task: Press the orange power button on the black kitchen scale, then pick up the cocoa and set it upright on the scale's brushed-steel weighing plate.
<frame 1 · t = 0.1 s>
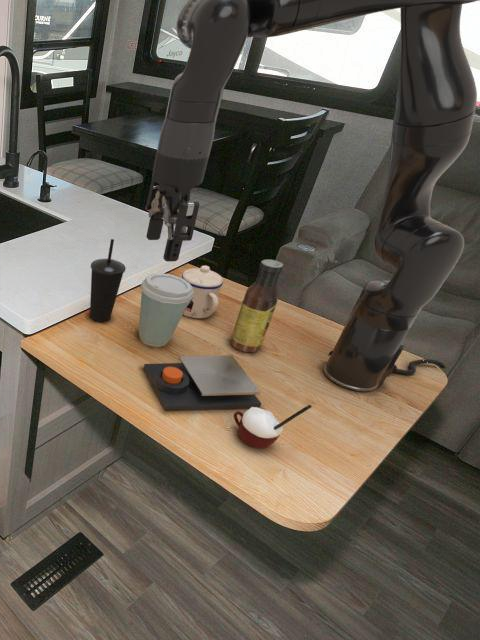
hand: (161, 249, 87), 29 cm above the table, tool pointing down, fingers open, 8 cm apart
drinking cup: (99, 318, 125), on the table
disposable coffee cup: (154, 340, 117), on the table
weighing plate: (217, 375, 101), resting on scale
scale: (198, 388, 103), on the table
cocoa: (255, 443, 91), on the table
sauce bottle: (243, 346, 115), on the table
teacup with lid: (196, 313, 126), on the table
power button: (172, 375, 101), point 3 cm above the table, slide at 0.1 cm
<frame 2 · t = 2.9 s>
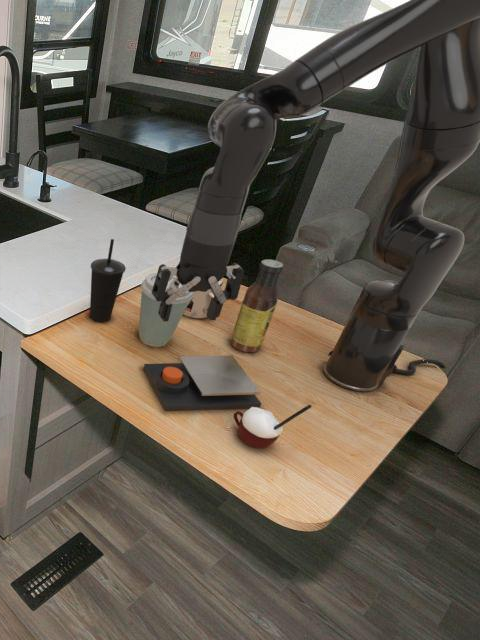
hand: (187, 318, 93), 16 cm above the table, tool pointing down, fingers open, 8 cm apart
nothing on the table moved.
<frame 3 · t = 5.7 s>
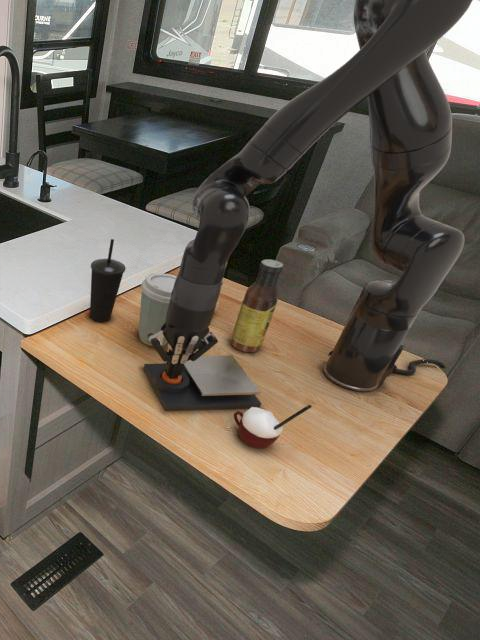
hand: (171, 375, 101), 3 cm above the table, tool pointing down, fingers closed
power button: (171, 378, 101), point 3 cm above the table, slide at -0.7 cm, touching gripper
everything else where it was.
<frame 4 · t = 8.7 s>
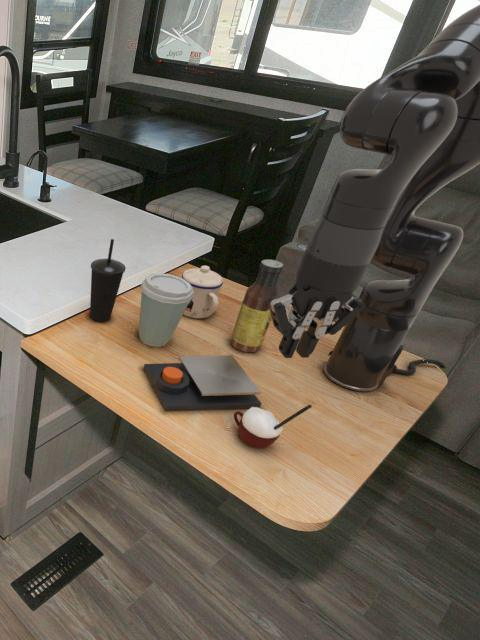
hand: (293, 354, 80), 19 cm above the table, tool pointing down, fingers closed
power button: (172, 375, 101), point 3 cm above the table, slide at 0.1 cm
everything else where it was.
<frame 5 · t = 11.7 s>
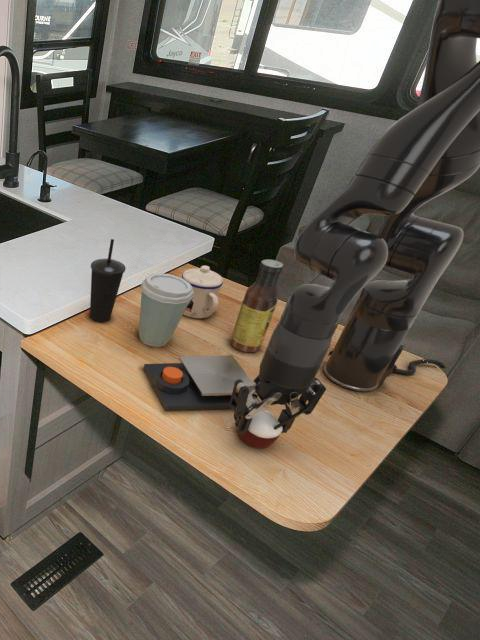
hand: (260, 429, 89), 3 cm above the table, tool pointing down, fingers closed on cocoa, 6 cm apart
cocoa: (255, 443, 91), on the table, touching gripper
everything else where it was.
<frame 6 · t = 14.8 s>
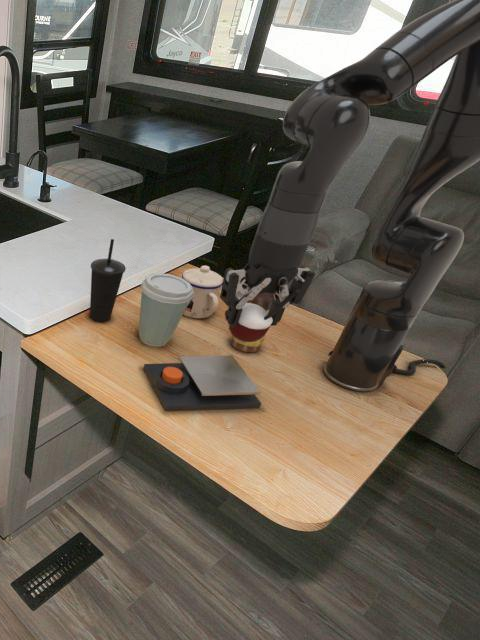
hand: (251, 323, 90), 17 cm above the table, tool pointing down, fingers closed on cocoa, 6 cm apart
cocoa: (245, 339, 92), point 14 cm above the table, touching gripper
everything else where it was.
when the fingers open (7 cm above the table, at t = 18.2 s): cocoa stays where it is, resting on weighing plate.
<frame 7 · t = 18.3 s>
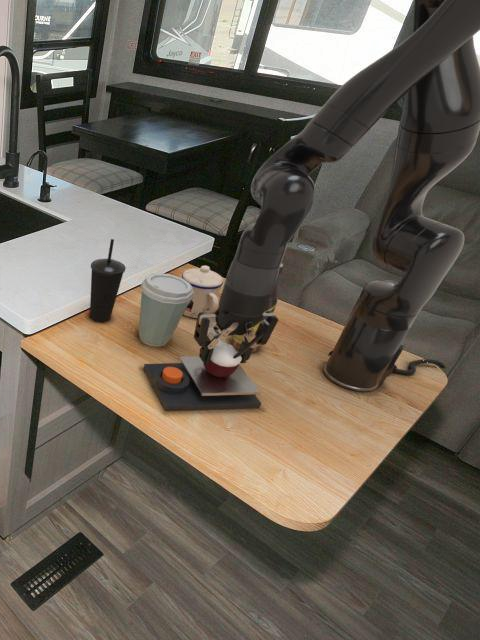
hand: (222, 361, 99), 7 cm above the table, tool pointing down, fingers open, 6 cm apart
cocoa: (218, 374, 101), point 3 cm above the table, touching weighing plate
everything else where it was.
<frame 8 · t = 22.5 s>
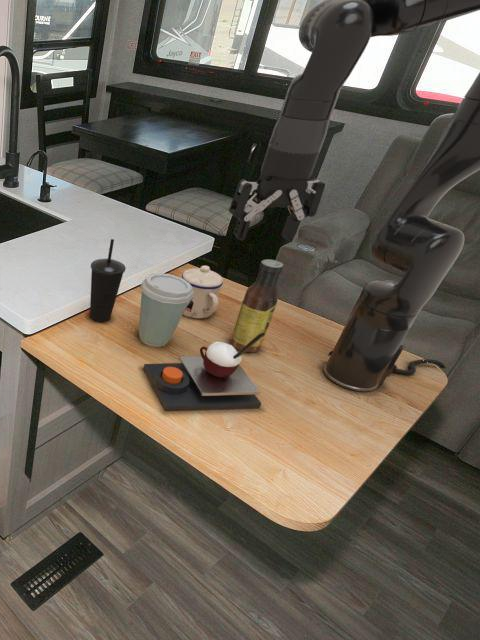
hand: (262, 238, 94), 28 cm above the table, tool pointing down, fingers open, 8 cm apart
nothing on the table moved.
at the end: power button pushed in 0.9 cm at the most during the clip, back to where it started at the end; cocoa inside the target area on the scale (0.1 cm from its centre), point 3.4 cm above the scale's base; cocoa tilted 0° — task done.
